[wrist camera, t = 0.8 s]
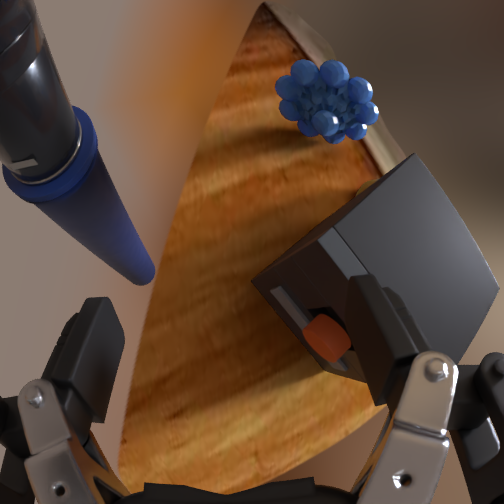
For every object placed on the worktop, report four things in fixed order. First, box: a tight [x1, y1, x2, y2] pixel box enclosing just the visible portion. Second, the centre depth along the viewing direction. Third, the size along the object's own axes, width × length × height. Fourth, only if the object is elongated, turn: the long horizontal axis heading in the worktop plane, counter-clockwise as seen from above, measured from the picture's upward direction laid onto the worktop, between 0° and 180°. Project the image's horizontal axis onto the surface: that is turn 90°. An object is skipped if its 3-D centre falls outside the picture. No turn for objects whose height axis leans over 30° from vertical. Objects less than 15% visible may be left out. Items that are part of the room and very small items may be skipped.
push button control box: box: [251, 153, 500, 383], centre depth 24 cm, size 12×10×16 cm
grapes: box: [275, 59, 378, 144], centre depth 30 cm, size 12×7×12 cm, turn 78°
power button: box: [302, 314, 351, 363], centre depth 21 cm, size 3×2×3 cm, turn 40°
